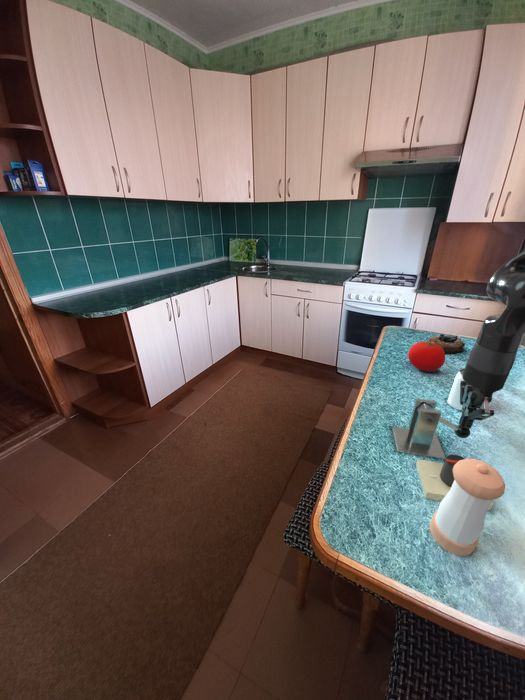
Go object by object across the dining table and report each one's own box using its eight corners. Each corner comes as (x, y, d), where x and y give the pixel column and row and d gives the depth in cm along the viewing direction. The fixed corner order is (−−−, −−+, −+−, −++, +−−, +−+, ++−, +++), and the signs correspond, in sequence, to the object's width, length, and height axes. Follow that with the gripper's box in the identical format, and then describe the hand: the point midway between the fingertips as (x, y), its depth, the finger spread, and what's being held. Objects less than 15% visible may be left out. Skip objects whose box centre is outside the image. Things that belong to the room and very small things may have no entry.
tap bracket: (434, 436, 78) (447, 397, 72) (444, 462, 71) (460, 421, 65) (391, 430, 81) (400, 392, 75) (396, 454, 73) (407, 414, 67)
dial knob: (460, 472, 64) (468, 455, 62) (469, 491, 60) (477, 473, 58) (436, 468, 65) (443, 451, 63) (443, 486, 61) (450, 469, 59)
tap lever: (460, 433, 73) (470, 426, 71) (465, 443, 70) (475, 435, 68) (415, 409, 73) (424, 400, 71) (418, 417, 70) (427, 408, 68)
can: (445, 398, 93) (456, 366, 88) (469, 403, 91) (482, 370, 85) (447, 409, 88) (458, 376, 83) (472, 415, 85) (486, 381, 80)
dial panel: (471, 477, 66) (475, 467, 65) (488, 514, 59) (493, 504, 57) (414, 467, 69) (417, 458, 68) (423, 501, 61) (427, 491, 60)
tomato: (440, 379, 103) (448, 353, 98) (403, 370, 109) (409, 345, 104) (442, 365, 112) (449, 340, 107) (407, 357, 117) (413, 334, 113)
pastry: (467, 352, 121) (471, 339, 118) (442, 355, 119) (446, 342, 116) (447, 341, 131) (450, 329, 128) (423, 344, 128) (427, 332, 126)
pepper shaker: (482, 557, 52) (525, 484, 43) (443, 561, 51) (478, 488, 43) (455, 517, 58) (487, 447, 49) (420, 521, 58) (446, 450, 49)
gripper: (526, 383, 56) (494, 449, 63) (494, 352, 67) (471, 411, 75) (481, 378, 57) (456, 443, 65) (458, 348, 69) (439, 407, 76)
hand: (464, 426), depth 70 cm, fingers closed
